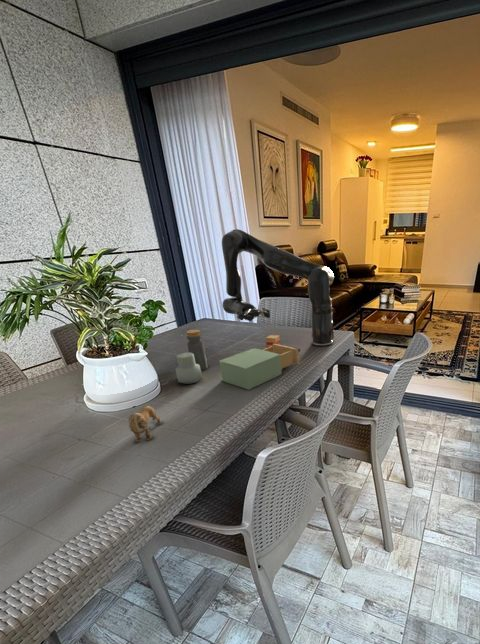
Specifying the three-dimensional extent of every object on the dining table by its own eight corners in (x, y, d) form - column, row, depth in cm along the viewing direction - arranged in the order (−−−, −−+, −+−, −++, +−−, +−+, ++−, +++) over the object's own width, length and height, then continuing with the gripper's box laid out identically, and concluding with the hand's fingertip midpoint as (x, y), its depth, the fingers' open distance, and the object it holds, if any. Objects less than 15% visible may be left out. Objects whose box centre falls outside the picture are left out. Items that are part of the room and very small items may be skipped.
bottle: (210, 365, 142) (203, 329, 135) (204, 371, 137) (197, 333, 130) (196, 365, 143) (188, 329, 136) (190, 370, 138) (181, 333, 131)
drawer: (283, 354, 149) (282, 340, 147) (306, 359, 142) (305, 345, 140) (247, 368, 135) (245, 354, 133) (271, 375, 129) (269, 360, 126)
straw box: (271, 352, 154) (270, 334, 151) (281, 353, 153) (279, 335, 149) (267, 356, 151) (265, 337, 147) (277, 356, 149) (275, 338, 146)
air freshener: (203, 384, 126) (198, 357, 121) (179, 388, 123) (173, 361, 118) (200, 373, 135) (195, 348, 130) (178, 377, 132) (171, 352, 127)
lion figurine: (154, 446, 91) (144, 416, 87) (131, 449, 90) (121, 419, 86) (163, 419, 103) (155, 392, 99) (143, 422, 102) (135, 394, 98)
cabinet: (256, 366, 140) (254, 348, 136) (281, 374, 132) (280, 354, 128) (222, 381, 128) (219, 360, 124) (248, 389, 120) (245, 368, 117)
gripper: (230, 304, 161) (243, 310, 148) (258, 300, 167) (273, 306, 155) (232, 320, 164) (245, 328, 152) (260, 316, 171) (275, 323, 159)
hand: (260, 317), depth 154 cm, fingers open, 8 cm apart
